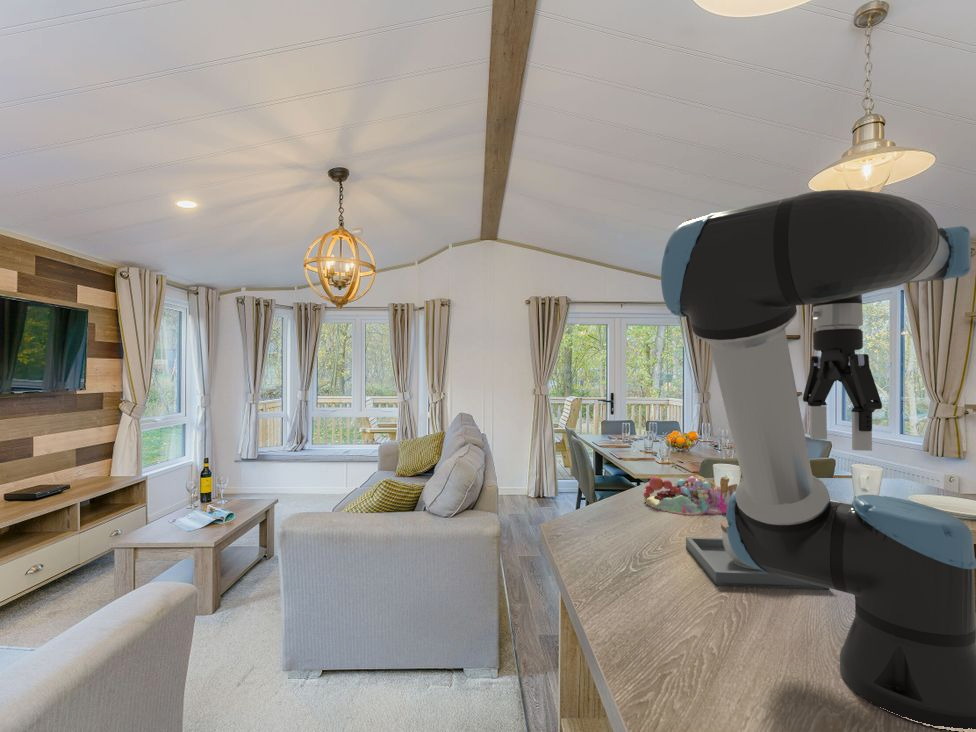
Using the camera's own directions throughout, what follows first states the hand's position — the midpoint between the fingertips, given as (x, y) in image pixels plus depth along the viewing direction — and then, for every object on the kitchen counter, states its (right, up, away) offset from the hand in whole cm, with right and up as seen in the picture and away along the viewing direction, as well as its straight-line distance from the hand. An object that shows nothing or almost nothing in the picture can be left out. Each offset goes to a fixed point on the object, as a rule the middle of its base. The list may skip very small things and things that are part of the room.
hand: (838, 444), depth 93 cm
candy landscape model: (-3, -28, +59) cm, 65 cm away
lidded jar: (-11, -26, +11) cm, 31 cm away
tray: (-11, -27, +11) cm, 31 cm away
